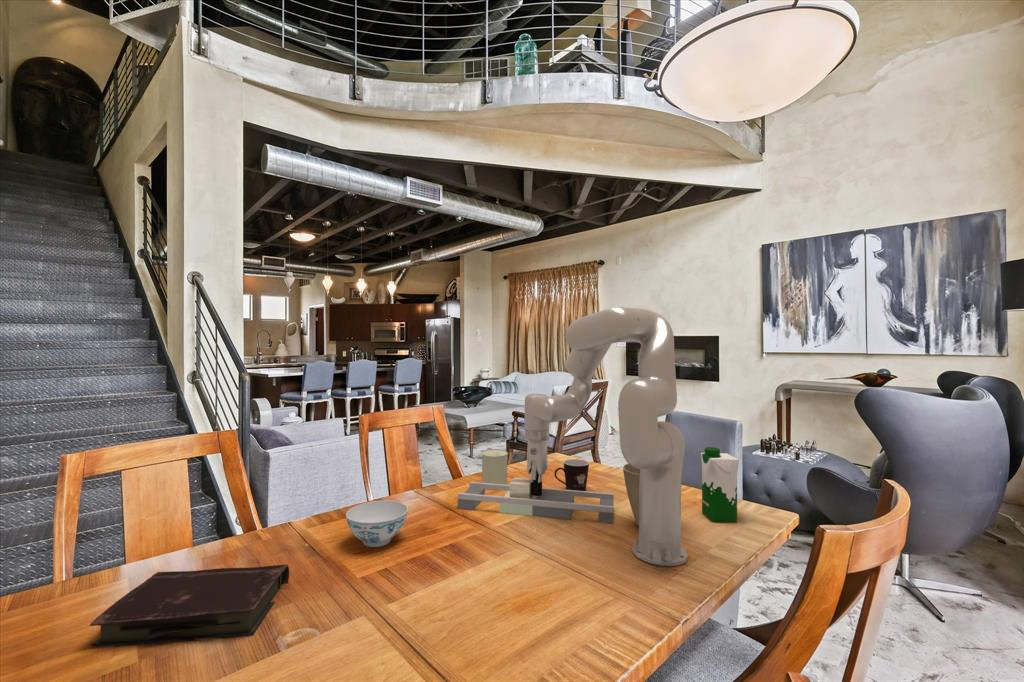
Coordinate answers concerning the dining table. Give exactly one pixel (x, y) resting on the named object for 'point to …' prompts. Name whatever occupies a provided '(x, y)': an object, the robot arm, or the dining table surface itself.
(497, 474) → the can
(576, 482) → the coffee mug
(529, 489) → the block
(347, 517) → the chinaware
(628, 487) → the plant pot
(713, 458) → the milk carton
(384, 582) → the dining table surface
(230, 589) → the diary
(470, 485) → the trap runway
